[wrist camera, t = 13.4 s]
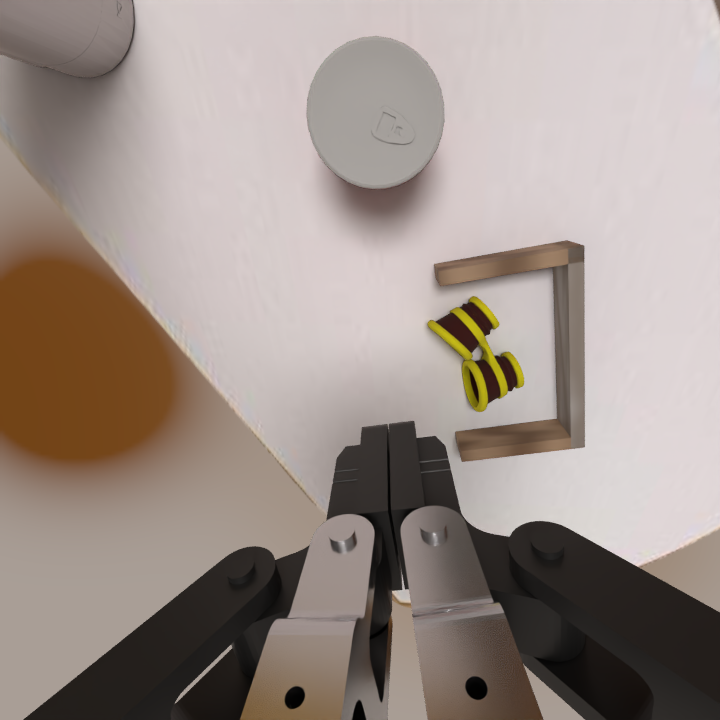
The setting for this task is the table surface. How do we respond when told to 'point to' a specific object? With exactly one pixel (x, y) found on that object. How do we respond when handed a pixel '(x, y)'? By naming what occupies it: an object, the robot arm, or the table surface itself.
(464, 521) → the robot arm
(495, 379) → the opera glasses
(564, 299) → the walnut bay
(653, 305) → the table surface
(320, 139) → the canned food
